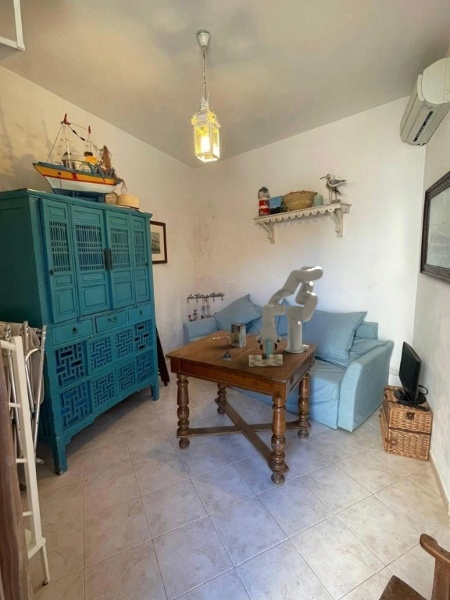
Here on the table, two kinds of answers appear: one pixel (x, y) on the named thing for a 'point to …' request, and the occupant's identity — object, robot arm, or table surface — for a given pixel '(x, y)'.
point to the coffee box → (238, 335)
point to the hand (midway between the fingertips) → (268, 349)
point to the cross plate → (268, 348)
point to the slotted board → (272, 361)
